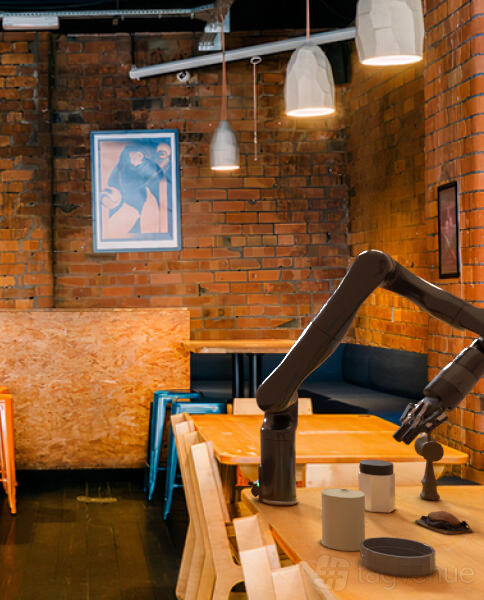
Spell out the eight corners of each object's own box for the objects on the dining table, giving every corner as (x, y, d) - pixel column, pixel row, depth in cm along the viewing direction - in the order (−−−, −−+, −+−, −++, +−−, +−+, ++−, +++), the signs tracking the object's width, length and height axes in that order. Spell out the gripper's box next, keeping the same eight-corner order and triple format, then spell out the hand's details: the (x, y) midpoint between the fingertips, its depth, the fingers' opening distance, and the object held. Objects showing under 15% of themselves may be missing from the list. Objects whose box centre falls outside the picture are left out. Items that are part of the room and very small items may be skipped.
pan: (355, 570, 159) (355, 550, 159) (366, 552, 171) (365, 533, 171) (432, 582, 152) (432, 561, 152) (437, 562, 164) (437, 542, 164)
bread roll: (412, 523, 193) (411, 508, 193) (441, 520, 195) (440, 505, 195) (445, 535, 183) (445, 519, 183) (475, 532, 185) (475, 516, 185)
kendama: (437, 495, 220) (436, 423, 220) (446, 503, 211) (445, 428, 211) (414, 494, 222) (413, 422, 222) (421, 502, 213) (420, 427, 213)
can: (366, 541, 178) (366, 488, 178) (365, 553, 170) (364, 497, 170) (323, 536, 182) (322, 484, 182) (319, 548, 174) (318, 493, 174)
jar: (366, 502, 213) (365, 458, 213) (398, 507, 207) (397, 461, 208) (354, 509, 206) (354, 463, 206) (388, 514, 201) (387, 467, 201)
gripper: (422, 372, 190) (373, 425, 189) (457, 378, 176) (404, 434, 175) (444, 394, 190) (395, 446, 189) (480, 401, 176) (428, 458, 175)
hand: (400, 440), depth 182 cm, fingers open, 3 cm apart
